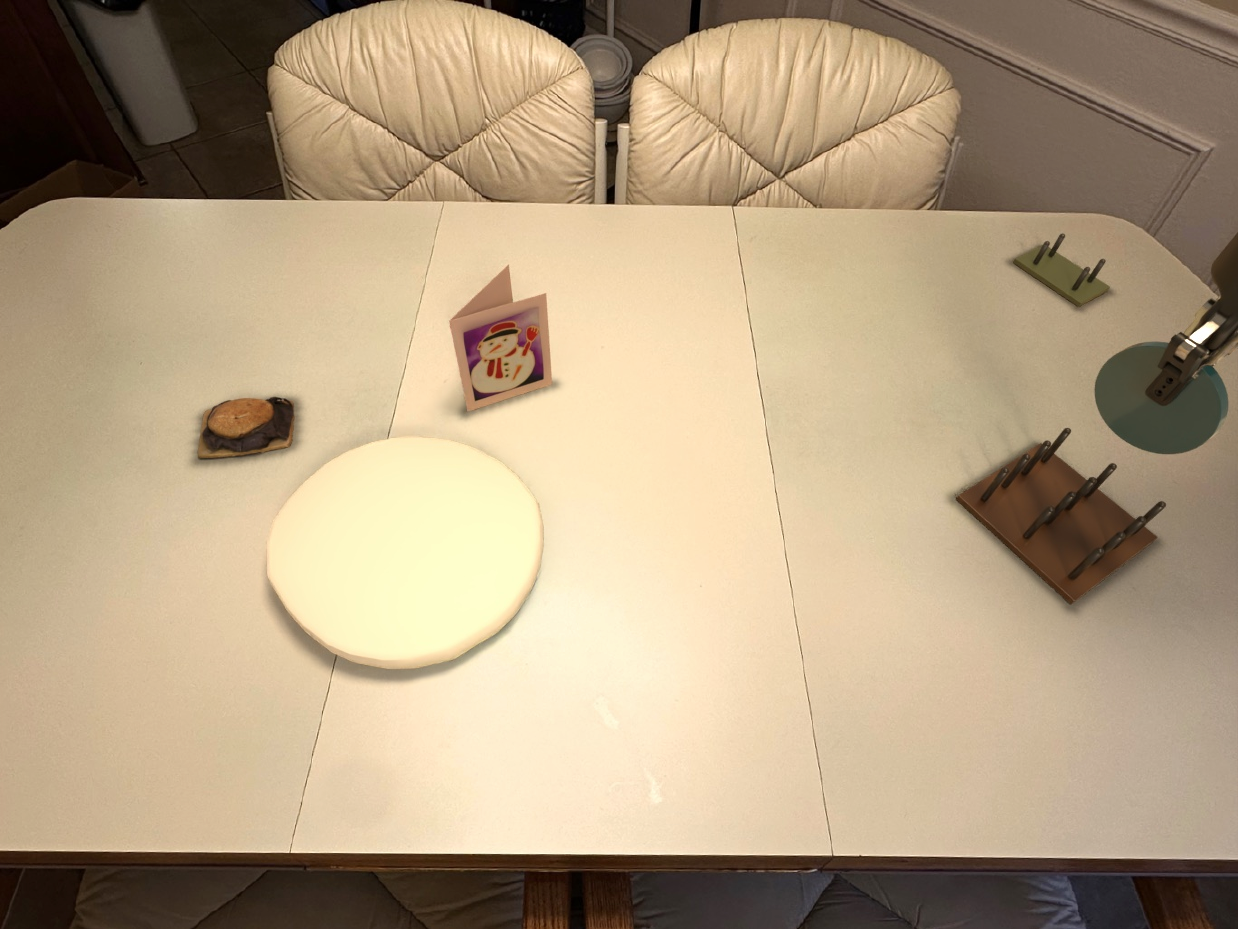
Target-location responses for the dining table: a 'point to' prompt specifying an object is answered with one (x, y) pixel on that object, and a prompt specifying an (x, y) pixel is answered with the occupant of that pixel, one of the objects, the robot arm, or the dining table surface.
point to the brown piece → (246, 427)
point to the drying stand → (1062, 273)
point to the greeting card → (501, 344)
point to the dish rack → (1058, 519)
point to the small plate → (1146, 420)
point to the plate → (406, 551)
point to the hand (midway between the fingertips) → (1162, 394)
